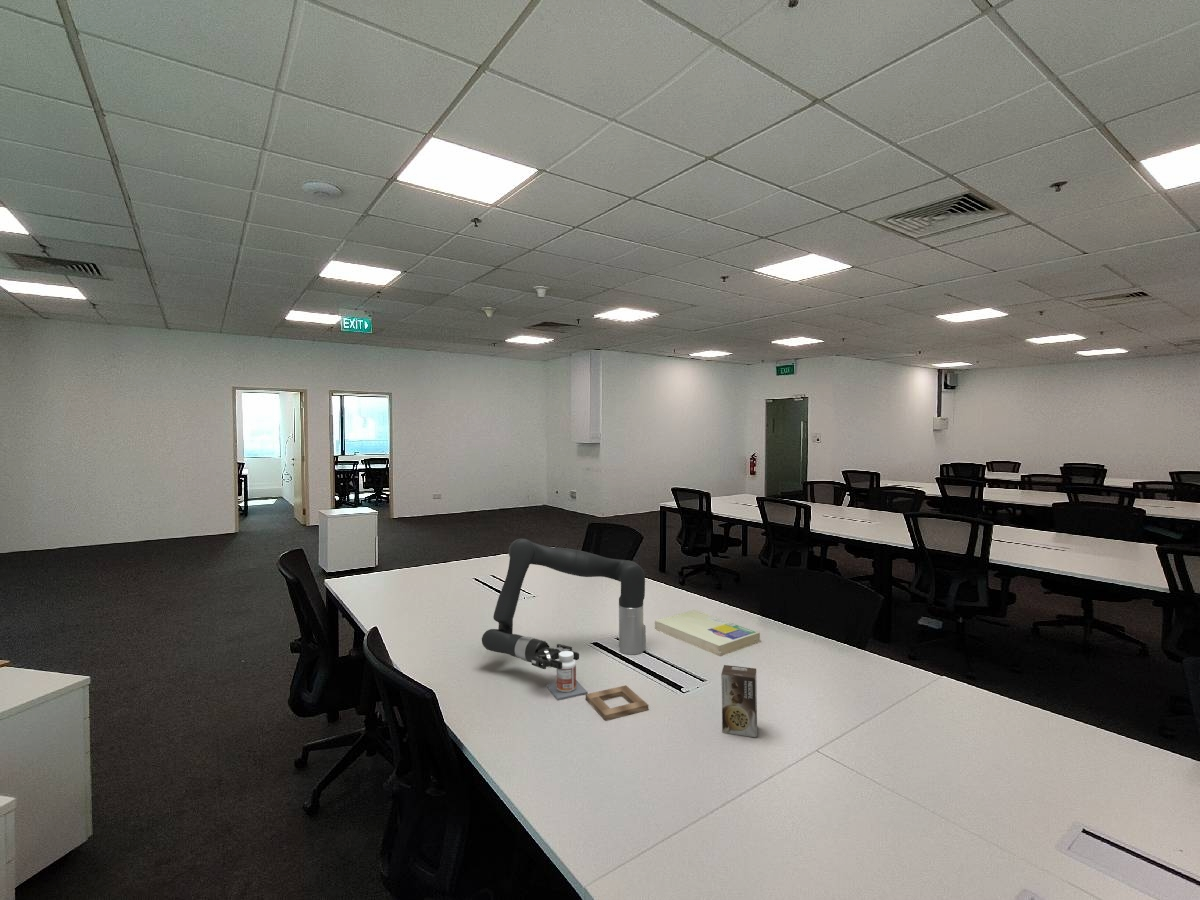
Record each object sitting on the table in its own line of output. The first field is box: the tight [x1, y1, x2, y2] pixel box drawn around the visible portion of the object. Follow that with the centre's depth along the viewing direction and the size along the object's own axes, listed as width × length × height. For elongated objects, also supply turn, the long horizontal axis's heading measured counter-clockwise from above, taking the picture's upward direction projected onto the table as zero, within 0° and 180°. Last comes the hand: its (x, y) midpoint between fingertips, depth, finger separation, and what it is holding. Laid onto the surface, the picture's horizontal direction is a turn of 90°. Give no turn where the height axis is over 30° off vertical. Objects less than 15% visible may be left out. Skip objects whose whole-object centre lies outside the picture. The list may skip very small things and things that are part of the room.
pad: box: [546, 679, 589, 701], centre depth 169 cm, size 10×10×1 cm
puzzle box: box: [654, 609, 761, 657], centre depth 216 cm, size 36×5×24 cm
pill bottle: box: [556, 651, 577, 692], centre depth 169 cm, size 6×6×11 cm
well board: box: [585, 685, 649, 722], centre depth 159 cm, size 14×14×2 cm
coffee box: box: [720, 664, 758, 738], centre depth 145 cm, size 9×6×16 cm
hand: (570, 661), depth 168 cm, fingers open, 8 cm apart
